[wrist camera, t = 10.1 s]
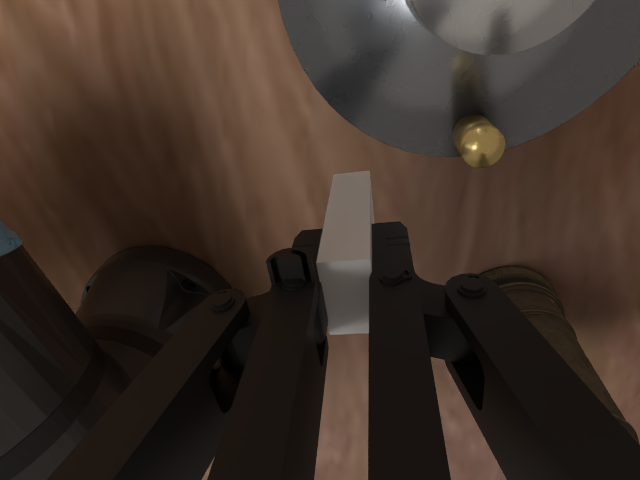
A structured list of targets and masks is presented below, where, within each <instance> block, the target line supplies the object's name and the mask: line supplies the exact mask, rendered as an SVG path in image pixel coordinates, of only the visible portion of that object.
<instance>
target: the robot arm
mask: <svg viewBox="0 0 640 480" xmlns="http://www.w3.org/2000/svg"><path fill="white" fill-rule="evenodd" d="M22 243H23V241H22V240H21V239H20V237H19V235H17V233H16V232H14V231H12V230H9V229H8V228H7V227H6V225H5V224H4V223H3V222H2V221H1V220H0V480H201V479H202V478H203V476H204V474H205V472H206V471H207V469H208V467H209V465H210V464H211V462H212V460H213V458H214V457H215V458H214V461H213V464H212V467H211V470H210V473H209V476H208V479H207V480H314V474H315V465H316V456H317V447H318V438H319V429H320V420H321V411H322V402H323V393H324V384H325V375H326V366H327V357H328V348H329V347H328V341H327V336H326V333H327V325H328V329H329V334H330V335H339V334H366V333H369V428H368V480H451V478H450V472H449V466H448V460H447V454H446V448H445V442H444V436H443V430H442V424H441V418H440V412H439V406H438V400H437V394H436V388H435V382H434V376H433V370H432V364H431V358H430V356H431V357H435V358H439V359H444V360H445V363H446V366H447V368H448V370H449V372H450V374H451V376H452V378H453V379H454V381H455V383H456V385H457V387H458V389H459V391H460V393H461V394H462V396H463V398H464V400H465V402H466V404H467V406H468V408H469V409H470V411H471V413H472V415H473V417H474V419H475V421H476V423H477V424H478V426H479V428H480V430H481V432H482V434H483V436H484V438H485V439H486V441H487V443H488V445H489V447H490V449H491V451H492V453H493V454H494V456H495V458H496V460H497V462H498V464H499V466H500V468H501V469H502V471H503V473H504V475H505V477H506V479H507V480H640V445H639V444H638V443H637V442H636V441H635V439H634V438H633V437H632V436H631V435H630V434H629V433H628V432H627V430H626V429H625V428H624V427H623V426H622V425H621V424H620V423H619V421H618V420H617V419H616V418H615V417H614V416H613V415H612V413H611V412H610V411H609V410H608V409H607V408H606V407H605V406H604V404H603V403H602V402H601V401H600V400H599V399H598V398H597V397H596V395H595V394H594V393H593V392H592V391H591V390H590V389H589V387H588V386H587V385H586V384H585V383H584V382H583V381H582V380H581V378H580V377H579V376H578V375H577V374H576V373H575V372H574V371H573V369H572V368H571V367H570V366H569V365H568V364H567V363H566V362H565V360H564V359H563V358H562V357H561V356H560V355H559V354H558V352H557V351H556V350H555V349H554V348H553V347H552V346H551V345H550V343H549V342H548V341H547V340H546V339H545V338H544V337H543V336H542V334H541V333H540V332H539V331H538V330H537V329H536V328H535V326H534V325H533V324H532V323H531V322H530V321H529V320H528V319H527V317H526V316H525V315H524V314H523V313H522V312H521V311H520V310H519V308H518V307H517V306H516V305H515V304H514V303H513V302H512V301H511V299H510V298H509V297H508V296H507V295H506V294H505V293H504V291H503V290H502V289H501V288H500V287H499V286H498V285H497V284H496V283H495V282H494V281H493V280H491V279H490V278H488V277H485V276H482V275H478V274H471V273H470V274H460V275H457V276H454V277H452V278H451V279H450V280H448V281H447V283H446V286H445V285H438V284H433V283H429V282H427V281H424V280H423V279H421V278H420V277H418V276H417V274H416V273H415V271H414V268H413V262H412V256H411V250H410V244H409V238H408V232H407V228H406V227H405V226H404V225H403V224H402V223H401V222H387V223H375V222H374V211H373V201H372V190H371V179H370V170H369V171H359V172H350V173H340V174H334V175H333V180H332V185H331V190H330V195H329V200H328V206H327V211H326V216H325V221H324V226H323V229H314V230H302V231H301V232H300V233H299V234H298V235H297V236H296V237H295V239H294V242H293V245H292V248H287V249H282V250H280V251H277V252H275V253H274V254H272V255H271V256H270V257H269V258H268V259H267V261H266V264H267V268H268V272H269V275H270V279H271V283H272V286H271V289H270V291H269V292H267V293H265V294H262V295H259V296H255V297H252V298H248V299H246V297H245V294H244V293H243V292H242V291H240V290H237V289H232V288H231V287H230V285H229V284H228V283H227V282H226V281H225V280H224V279H223V277H222V276H221V275H219V274H218V273H217V272H216V271H215V270H213V269H212V268H211V267H209V266H208V265H207V264H205V263H203V262H202V261H200V260H198V259H196V258H194V257H192V256H190V255H188V254H185V253H183V252H180V251H176V250H173V249H168V248H163V247H153V246H145V247H135V248H130V249H127V250H124V251H121V252H119V253H117V254H115V255H114V256H112V257H111V258H109V259H108V260H107V261H106V262H105V263H104V264H103V265H102V266H101V267H100V268H99V269H98V270H97V271H96V272H95V273H94V274H93V276H92V277H91V278H90V280H89V281H88V283H87V285H86V287H85V290H84V292H83V296H82V304H81V306H80V307H79V309H78V311H77V313H76V315H75V313H74V312H73V311H72V309H71V308H70V307H69V305H68V304H67V303H66V302H65V300H64V299H63V298H62V296H61V295H60V294H59V292H58V291H57V290H56V289H55V287H54V286H53V285H52V283H51V282H50V281H49V279H48V278H47V277H46V276H45V274H44V273H43V272H42V270H41V269H40V268H39V266H38V265H37V264H36V263H35V261H34V260H33V259H32V257H31V256H30V255H29V253H28V252H27V251H26V250H25V248H24V247H23V246H22Z"/></svg>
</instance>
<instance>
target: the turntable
mask: <svg viewBox="0 0 640 480" xmlns="http://www.w3.org/2000/svg"><path fill="white" fill-rule="evenodd" d="M278 3H279V7H280V11H281V16H282V20H283V23H284V25H285V28H286V31H287V34H288V37H289V40H290V43H291V45H292V47H293V49H294V51H295V53H296V55H297V57H298V59H299V62H300V64H301V66H302V68H303V69H304V71H305V72H306V74H307V75H308V77H309V78H310V80H311V82H312V83H313V85H314V86H315V88H316V89H317V90H318V91H319V93H320V94H321V95H322V96H323V97H324V98H325V100H326V101H327V102H328V103H329V104H330V106H331V107H332V108H334V109H335V110H336V111H337V112H338V113H339V114H340V115H341V116H342V117H343V118H345V119H346V120H347V121H348V122H349V123H351V124H352V125H354V126H355V127H357V128H358V129H360V130H361V131H362V132H364V133H365V134H367V135H369V136H371V137H373V138H375V139H377V140H379V141H381V142H383V143H385V144H388V145H390V146H393V147H396V148H399V149H402V150H405V151H409V152H414V153H419V154H424V155H432V156H445V157H454V156H462V157H463V159H464V160H465V162H466V163H467V164H469V165H470V166H472V167H476V168H485V167H488V166H491V165H493V164H494V163H496V162H497V161H498V160H499V159H500V158H501V156H502V155H503V153H504V150H505V149H506V148H509V147H513V146H516V145H519V144H521V143H524V142H526V141H529V140H531V139H534V138H536V137H539V136H541V135H543V134H545V133H547V132H549V131H550V130H552V129H554V128H556V127H558V126H560V125H562V124H564V123H565V122H567V121H568V120H570V119H571V118H573V117H574V116H576V115H577V114H579V113H580V112H582V111H583V110H585V109H586V108H588V107H589V106H590V105H591V104H593V103H594V102H595V101H596V100H597V99H599V98H600V97H601V96H602V95H604V94H605V93H606V92H607V91H608V90H610V89H611V88H612V87H613V86H614V85H615V84H616V83H617V82H618V81H619V80H620V79H621V78H622V77H623V76H624V75H625V74H626V73H627V72H628V71H629V70H630V69H631V68H632V67H633V66H634V65H635V64H636V62H637V61H638V60H639V59H640V0H595V1H594V2H593V3H592V4H591V5H590V6H589V8H588V9H587V10H586V11H585V12H584V13H583V14H582V15H581V16H580V17H579V18H578V19H576V20H575V21H574V22H573V23H572V24H570V25H569V26H568V27H567V28H565V29H564V30H563V31H561V32H560V33H558V34H557V35H555V36H554V37H552V38H551V39H549V40H547V41H545V42H543V43H541V44H539V45H537V46H534V47H532V48H529V49H526V50H524V51H520V52H516V53H511V54H504V55H481V54H475V53H470V52H467V51H464V50H461V49H459V48H457V47H455V46H453V45H451V44H449V43H447V42H445V41H444V40H442V39H440V38H438V37H436V36H434V35H433V34H431V33H430V32H429V31H427V30H426V29H425V28H424V27H423V26H422V25H421V24H420V23H419V22H418V21H417V20H416V19H415V17H414V16H413V15H412V13H411V12H410V10H409V8H408V6H407V4H406V2H405V0H278Z"/></svg>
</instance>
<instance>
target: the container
mask: <svg viewBox="0 0 640 480" xmlns="http://www.w3.org/2000/svg"><path fill="white" fill-rule="evenodd" d="M481 275H482V276H485V277H488V278H490V279H491V280H493V281H494V282H495V283H496V284H497V285H498V286H499V287H500V288H501V289H502V290H503V291H504V293H505V294H506V295H507V296H508V297H509V298H510V299H511V301H512V302H513V303H514V304H515V305H516V306H517V307H518V308H519V310H520V311H521V312H522V313H523V314H524V315H525V316H526V317H527V319H528V320H529V321H530V322H531V323H532V324H533V325H534V326H535V328H536V329H537V330H538V331H539V332H540V333H541V334H542V336H543V337H544V338H545V339H546V340H547V341H548V342H549V343H550V345H551V346H552V347H553V348H554V349H555V350H556V351H557V352H558V354H559V355H560V356H561V357H562V358H563V359H564V360H565V362H566V363H567V364H568V365H569V366H570V367H571V368H572V369H573V371H574V372H575V373H576V374H577V375H578V376H579V377H580V378H581V380H582V381H583V382H584V383H585V384H586V385H587V386H588V387H589V389H590V390H591V391H592V392H593V393H594V394H595V395H596V397H597V398H598V399H599V400H600V401H601V402H602V403H603V404H604V406H605V407H606V408H607V409H608V410H609V411H610V412H611V413H612V415H613V416H614V417H615V418H616V419H617V420H618V421H619V423H620V424H621V425H622V426H623V427H624V428H625V429H626V430H627V432H628V433H629V434H630V435H631V436H632V437H633V438H634V439H635V441H636V442H637V443H638V444H639V441H638V436H637V434H636V431H635V430H634V428H633V427H632V426H631V425H630V424H629V423H628V422H627V421H626V420H625V418H624V417H623V415H622V413H621V412H620V410H619V409H618V407H617V406H616V404H615V402H614V401H613V399H612V398H611V396H610V394H609V393H608V391H607V389H606V387H605V386H604V384H603V383H602V381H601V379H600V378H599V376H598V374H597V373H596V371H595V370H594V368H593V366H592V365H591V363H590V361H589V360H588V358H587V357H586V355H585V353H584V352H583V350H582V348H581V346H580V344H579V343H578V341H577V337H576V334H575V332H574V329H573V328H572V326H571V325H570V324H569V323H568V322H567V321H566V319H565V314H564V309H563V306H562V304H561V302H560V300H559V299H558V297H557V294H556V292H555V290H554V288H553V287H552V285H551V284H550V283H549V282H548V281H547V280H546V279H545V278H543V277H542V276H540V275H539V274H537V273H536V272H534V271H531V270H529V269H525V268H520V267H503V268H498V269H495V270H491V271H488V272H485V273H483V274H481ZM639 445H640V444H639Z"/></svg>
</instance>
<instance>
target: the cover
mask: <svg viewBox="0 0 640 480" xmlns="http://www.w3.org/2000/svg"><path fill="white" fill-rule="evenodd" d="M594 1H595V0H405V2H406V4H407V6H408V8H409V10H410V12H411V13H412V15H413V16H414V17H415V19H416V20H417V21H418V22H419V23H420V24H421V25H422V26H423V27H424V28H425V29H426V30H427V31H429V32H430V33H431V34H433V35H434V36H436V37H438V38H440V39H442V40H444V41H445V42H447V43H449V44H451V45H453V46H455V47H457V48H459V49H461V50H464V51H467V52H470V53H475V54H481V55H504V54H511V53H516V52H520V51H524V50H526V49H529V48H532V47H534V46H537V45H539V44H541V43H543V42H545V41H547V40H549V39H551V38H552V37H554V36H555V35H557V34H558V33H560V32H561V31H563V30H564V29H565V28H567V27H568V26H569V25H570V24H572V23H573V22H574V21H575V20H576V19H578V18H579V17H580V16H581V15H582V14H583V13H584V12H585V11H586V10H587V9H588V8H589V6H590V5H591V4H592V3H593V2H594Z"/></svg>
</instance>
